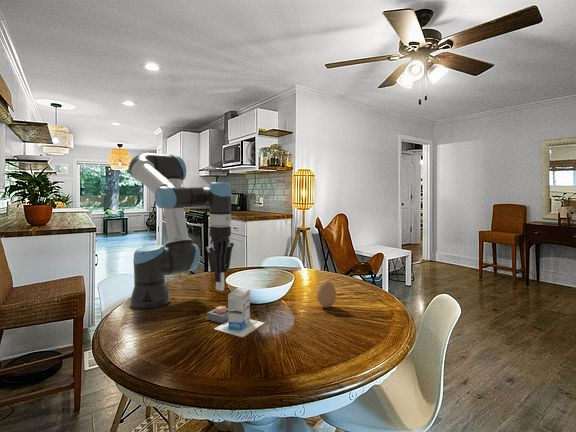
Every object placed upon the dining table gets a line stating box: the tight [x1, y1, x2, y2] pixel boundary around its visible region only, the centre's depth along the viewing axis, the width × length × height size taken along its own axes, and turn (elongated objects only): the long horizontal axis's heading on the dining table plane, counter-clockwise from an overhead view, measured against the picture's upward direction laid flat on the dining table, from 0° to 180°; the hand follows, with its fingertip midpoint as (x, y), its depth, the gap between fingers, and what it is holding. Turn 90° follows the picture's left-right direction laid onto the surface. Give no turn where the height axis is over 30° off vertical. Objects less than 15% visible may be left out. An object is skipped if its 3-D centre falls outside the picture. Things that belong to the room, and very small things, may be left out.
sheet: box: [213, 318, 266, 338], centre depth 113 cm, size 12×13×1 cm
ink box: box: [227, 287, 251, 330], centre depth 113 cm, size 9×5×12 cm, turn 166°
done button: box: [215, 305, 227, 315], centre depth 120 cm, size 4×4×2 cm
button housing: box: [206, 307, 228, 324], centre depth 120 cm, size 7×7×2 cm
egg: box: [316, 280, 337, 309], centre depth 132 cm, size 8×8×11 cm
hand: (220, 289), depth 120 cm, fingers closed
